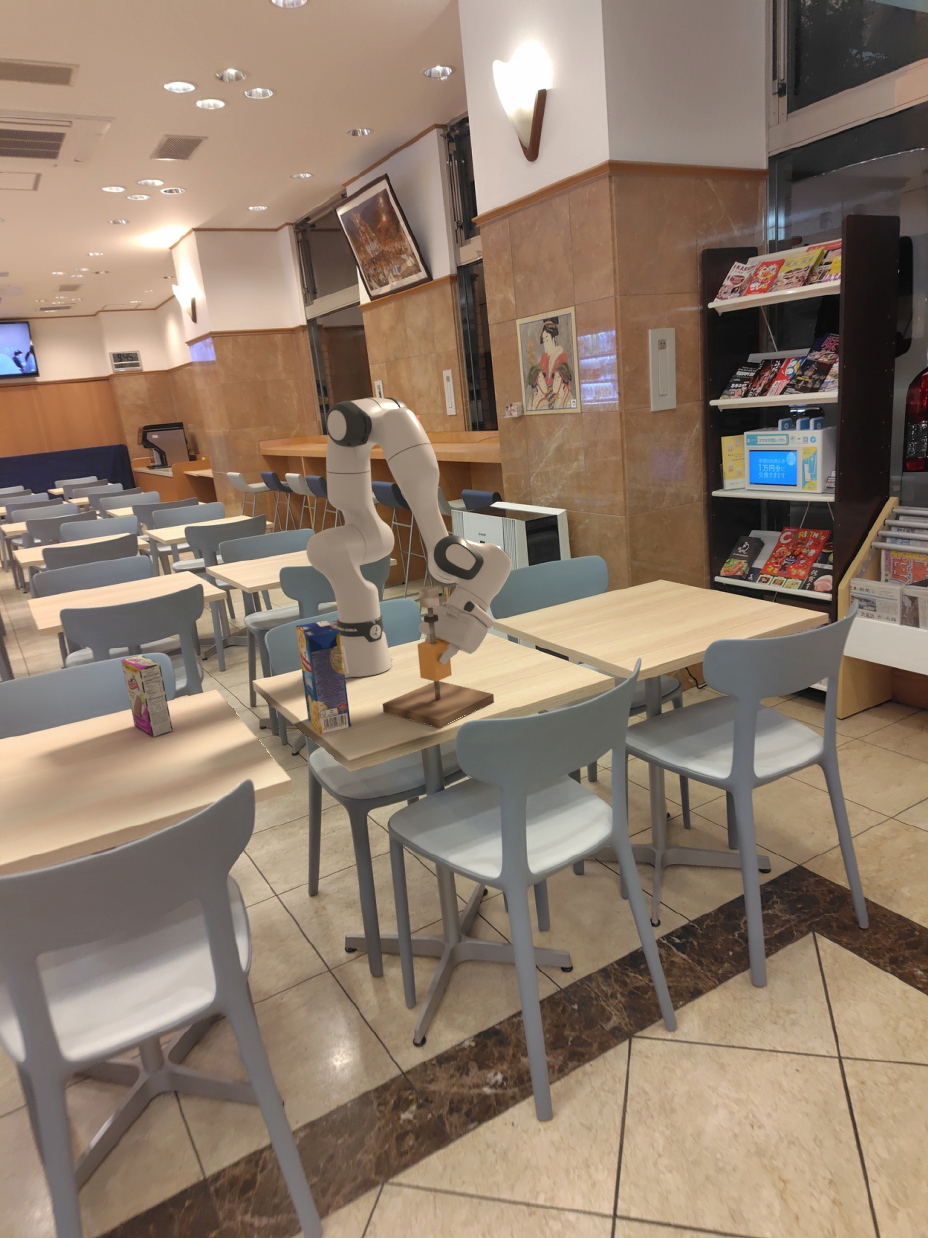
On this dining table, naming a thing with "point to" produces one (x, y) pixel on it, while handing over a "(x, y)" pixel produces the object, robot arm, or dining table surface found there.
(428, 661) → the marker sleeve
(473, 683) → the dining table surface
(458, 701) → the cord stand
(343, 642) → the robot arm
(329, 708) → the blue food box
